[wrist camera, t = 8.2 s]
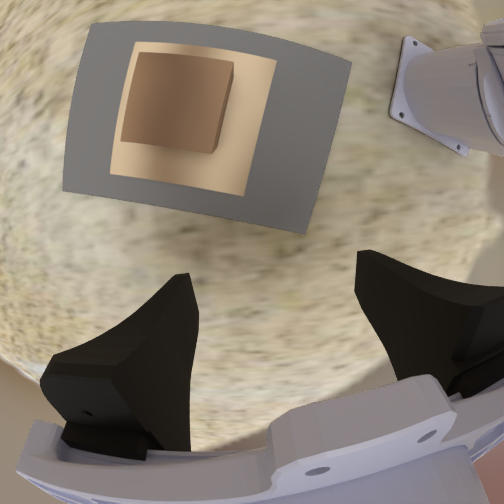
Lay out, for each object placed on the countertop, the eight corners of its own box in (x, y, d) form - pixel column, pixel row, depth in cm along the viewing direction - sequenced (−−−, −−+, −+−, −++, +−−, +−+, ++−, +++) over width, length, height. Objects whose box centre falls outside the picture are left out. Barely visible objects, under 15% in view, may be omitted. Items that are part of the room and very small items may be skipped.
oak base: (271, 68, 16) (277, 60, 14) (242, 187, 20) (243, 196, 18) (146, 50, 15) (135, 41, 13) (123, 167, 19) (109, 173, 16)
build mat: (350, 63, 17) (352, 62, 16) (303, 232, 22) (305, 234, 22) (93, 25, 14) (91, 23, 13) (64, 189, 19) (62, 191, 19)
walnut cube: (233, 77, 15) (233, 61, 10) (217, 147, 16) (211, 154, 12) (161, 68, 14) (139, 51, 10) (146, 136, 16) (120, 141, 12)
